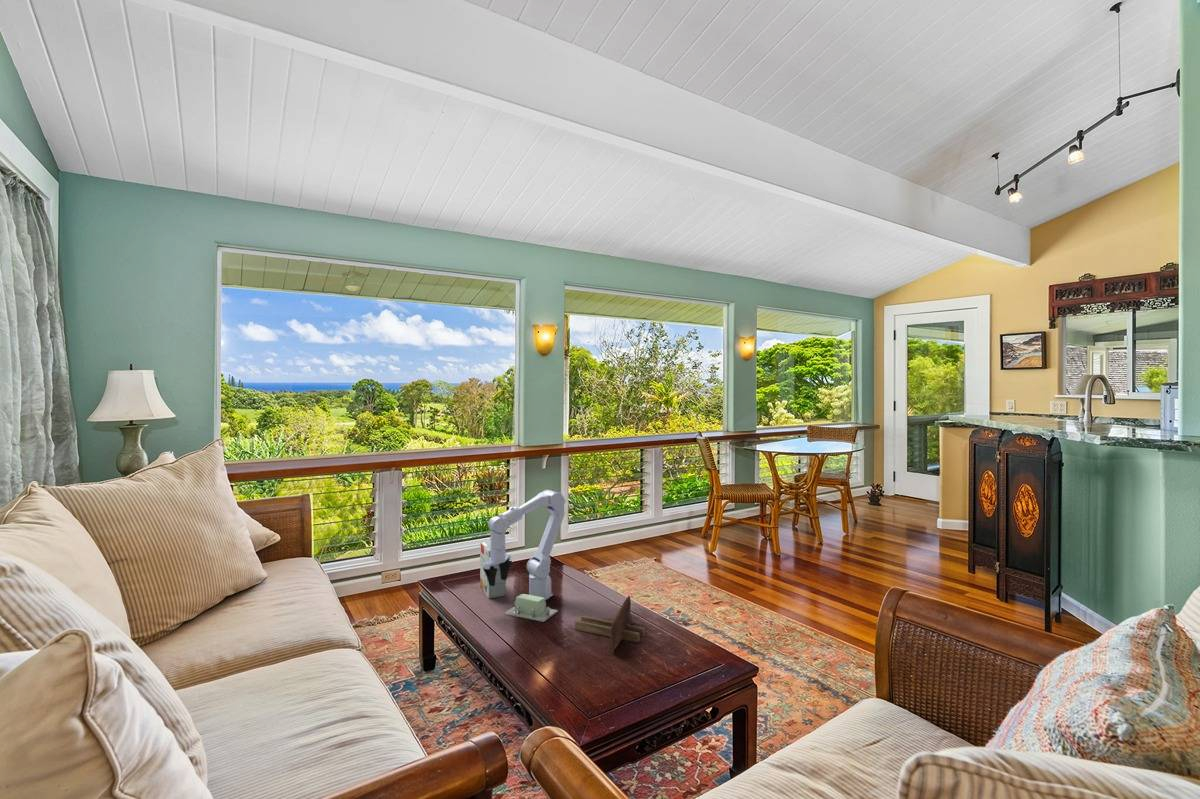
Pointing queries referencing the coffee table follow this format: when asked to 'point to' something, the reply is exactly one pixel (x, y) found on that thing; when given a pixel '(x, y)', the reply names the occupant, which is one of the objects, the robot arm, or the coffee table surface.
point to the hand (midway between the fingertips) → (497, 582)
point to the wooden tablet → (620, 623)
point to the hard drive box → (484, 584)
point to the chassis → (532, 613)
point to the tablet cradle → (607, 628)
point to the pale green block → (530, 603)
